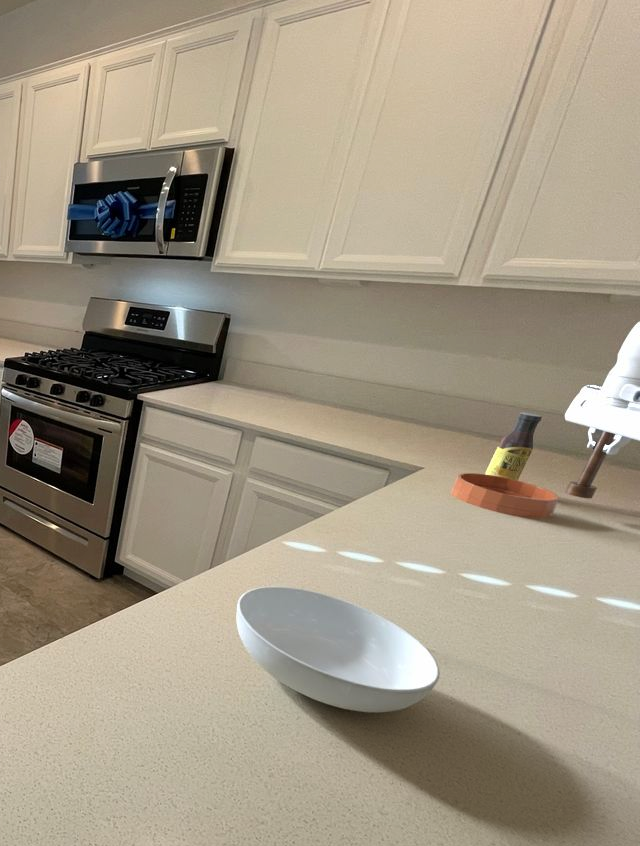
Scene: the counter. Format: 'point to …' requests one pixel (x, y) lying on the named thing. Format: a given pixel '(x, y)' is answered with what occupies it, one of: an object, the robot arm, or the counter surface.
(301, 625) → the serving bowl
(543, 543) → the counter surface
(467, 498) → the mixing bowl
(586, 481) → the brown rod with base
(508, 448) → the sauce bottle
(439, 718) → the counter surface
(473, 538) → the counter surface
